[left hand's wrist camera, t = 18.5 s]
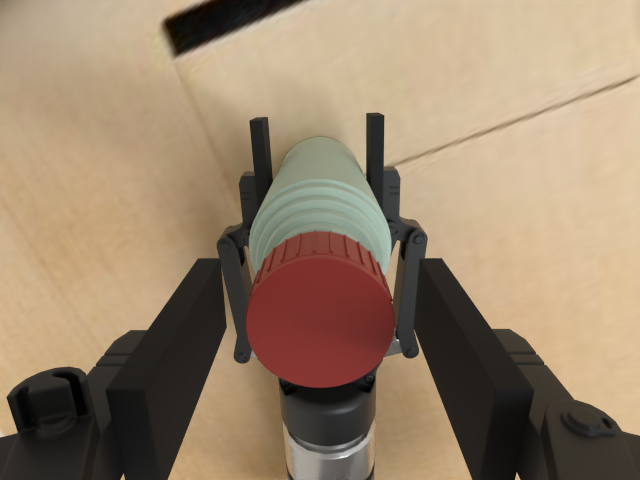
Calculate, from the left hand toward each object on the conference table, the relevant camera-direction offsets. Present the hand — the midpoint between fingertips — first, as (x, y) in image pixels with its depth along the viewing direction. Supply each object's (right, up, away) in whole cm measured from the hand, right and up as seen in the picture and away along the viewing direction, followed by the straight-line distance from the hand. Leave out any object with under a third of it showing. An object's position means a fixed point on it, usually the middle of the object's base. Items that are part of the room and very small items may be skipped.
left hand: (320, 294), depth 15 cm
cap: (0, -1, -2) cm, 2 cm away
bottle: (0, +7, +19) cm, 20 cm away
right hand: (0, +9, +11) cm, 15 cm away
